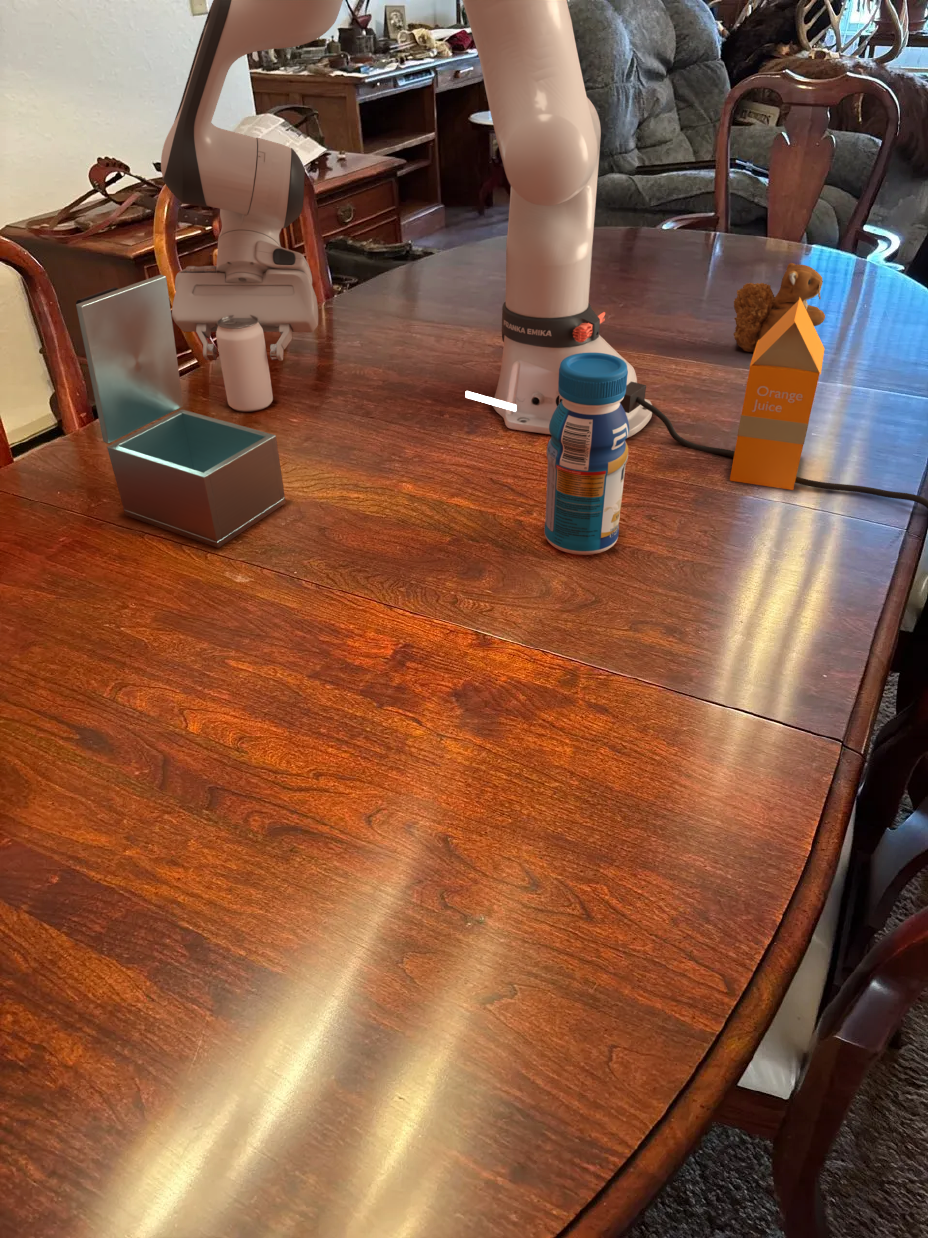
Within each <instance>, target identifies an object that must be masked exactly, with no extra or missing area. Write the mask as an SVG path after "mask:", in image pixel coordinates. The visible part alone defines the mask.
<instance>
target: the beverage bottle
mask: <svg viewBox="0 0 928 1238" xmlns="http://www.w3.org/2000/svg"><path fill="white" fill-rule="evenodd" d="M627 376H628V370H627V364H626V363H625V362H624V361H623V360H622V359H620V358H618V357H616V356H613V355H609V354H604V353H579V354H574V355H571V356H568V357H566V358H565V359H563V360H562V362H561V364H560V368H559V381H558V391H559V395H560V397H561V399H562V401H561V402H560V404H559V405H558V406H557V408H556V410H555V411H554V413H553V415H552V418H551V420H550V424H549V431H550V434H549V435H550V436H551V437H550V438H549V441H548V443H547V446H546V459H547V467H546V469H547V470H546V472H547V473H546V493H545V494H546V496H545V498H546V499H545V516H544V517H545V519H544V536H545V539H546V541H547V542H548V543H549V544H550V545H551V546H552V547H554V548H555V549H556V550H559V551H561V552H564V553H567V554H571V555H578V556H591V555H596V554H600V553H603V552H606V551H608V550H610V549H611V548H612V547H614V546H615V544H616V543H617V542H618V538H619V531H620V518H621V510H622V501H623V493H624V492H623V491H624V483H625V482H624V481H625V473H626V466H627V462H628V459H629V446H628V443H627V441H626V440H627V439H628V438H629V437H628V435H629V422H628V418H627V415H626V413H625V411H624V409H623V407H622V405H621V403H620V402H621V401H622V400H623V398H624V396H625V393H626V386H627ZM627 437H628V438H627Z"/></svg>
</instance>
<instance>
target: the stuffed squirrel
mask: <svg viewBox="0 0 928 1238" xmlns="http://www.w3.org/2000/svg"><path fill="white" fill-rule="evenodd" d="M822 286H823V277H822V274H820V273H819V272H818V271H816V270H815V269H814V268H813V267H811V266H809V265H807V264H796V263H793V262H790V263H788V265H787V267H786V271H784V274H783V276H782V279H781V283H780V288H779V289H778V292H777V294H776V295H775V294H774V292H773V290H772V288H771V285H770V284H767V283H764V282H760V283H758V282H756V283H753V282H749V283H748V282H747V283H744V284H743V286H742V288H740V289H737V290H736V295H737V296H736V297H735V298H734V301H733V308H734V312H735V313H736V317H734V321H735V328H734V331H735V332H733V338H734V340H735V341H736V345H738V347H739V348H741V349H742V350H743V351H744V352H748V353H749V352H750V353H752V352H753V353H754V350H755V347H756V344H757V342H758V340H760V339H761V338H762V337H763V336H764V335H765V334H766V333H767V332H768V331H769V330H770V329H771V328H772V327H773V326H774V325H775V324H776V323H777V322H778V321H779V320H780V319H781V318H782V316H783V315H784V314H785V313H786V312H787V311H788V310H789V309H790V308H791V307H792V306H793V305H794V304H795V303H796V302H797V301H798V300H799V298H801V300H802V302H803V305H804V307H805V309H806V311H807V313H808V315H809V317H810V319H811V321H812V323H813V325H814V327H818V326H819V325H821V324H823V322H824V321H825V319H826V314H825V313H824V311H823V310H821V309H820V308H819V307H818V306H813V305H810V304H809V303H808V301H809V300H811V299H813V298H815V297H818V300H821V299H822V297H821V290H822Z"/></svg>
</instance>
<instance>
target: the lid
mask: <svg viewBox="0 0 928 1238" xmlns="http://www.w3.org/2000/svg"><path fill="white" fill-rule="evenodd" d="M168 287H169V286H168V281H167V276H166V275H164V274H158V275H155V276H153V277H149V278H147V279H144V280H141V281H138V282H136V283H133V284H129V285H127V286H125V287H121V288H118V287H116V286H115V287H111V288H108V289H105V290H102V291H99V292H97V293H93V294H90V295H88V296H85V297H81V298H79V299H77V300H76V301H75V308H76V311H77V316H78V321H79V326H80V331H81V332H80V333H81V335H82V336H81V337H82V341H83V346H84V351H85V357H86V362H87V366H88V372H89V376H90V381H91V385H92V386H91V387H92V391H93V396H94V403H95V406H96V407H95V408H96V412H97V417H98V422H99V427H100V431H101V437H102V441H103V442H104V443H106V444H111V443H114V441H116V440H118V439H119V440H120V439H121V438H122V437H126V436H128V435H129V434H131V433H134V431H137V430H139V429H141V428H144V427H146V426H147V425H149V424H151V423H153V422H156V421H158V420H160V419H161V418H163V417H165V416H167V415H170V414H171V413H173V412H176V411H177V410H179V409H181V408H183V407H184V401H183V393H182V385H181V379H180V378H181V377H180V369H179V362H178V354H177V347H176V341H175V340H176V339H175V333H174V324H173V318H172V308H171V303H170V302H171V301H170V295H169V288H168Z"/></svg>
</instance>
